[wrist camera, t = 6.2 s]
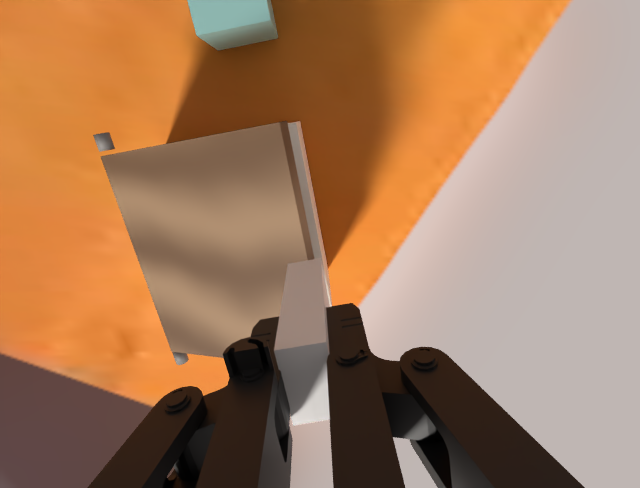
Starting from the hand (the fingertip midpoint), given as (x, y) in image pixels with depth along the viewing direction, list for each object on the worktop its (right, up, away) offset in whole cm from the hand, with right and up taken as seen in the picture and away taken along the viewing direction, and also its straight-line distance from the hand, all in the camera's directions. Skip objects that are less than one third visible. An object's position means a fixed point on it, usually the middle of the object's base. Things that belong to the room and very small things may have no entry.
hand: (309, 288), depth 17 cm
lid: (-6, +1, +7) cm, 9 cm away
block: (-6, +21, +13) cm, 25 cm away
